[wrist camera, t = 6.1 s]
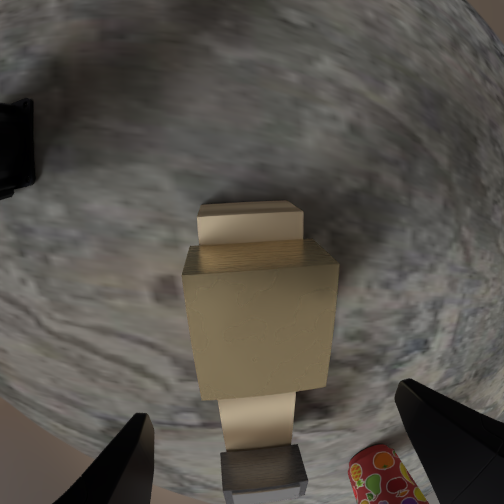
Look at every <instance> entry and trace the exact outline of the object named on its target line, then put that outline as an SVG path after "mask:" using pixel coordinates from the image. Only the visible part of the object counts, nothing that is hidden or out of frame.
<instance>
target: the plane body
mask: <svg viewBox="0 0 504 504" xmlns="http://www.w3.org/2000/svg"><path fill="white" fill-rule="evenodd" d="M197 223H198V235H199V246H200V245H215V244H230V243H246V242H262V241H278V240H295V239H303V211H302V210H300V209H299V208H297V207H296V206H294V205H293V204H291V203H290V202H288V201H287V200H282V201H258V202H238V203H221V204H205V205H201V207H200V210H199V213H198V216H197ZM295 397H296V392H290V393H283V394H275V395H266V396H257V397H247V398H235V399H220V400H218V404H219V410H220V417H221V423H222V429H223V434H224V440H225V446H226V451H227V452H237V451H249V450H259V449H267V448H275V447H282V446H289V445H291V439H292V430H293V419H294V408H295Z"/></svg>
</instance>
